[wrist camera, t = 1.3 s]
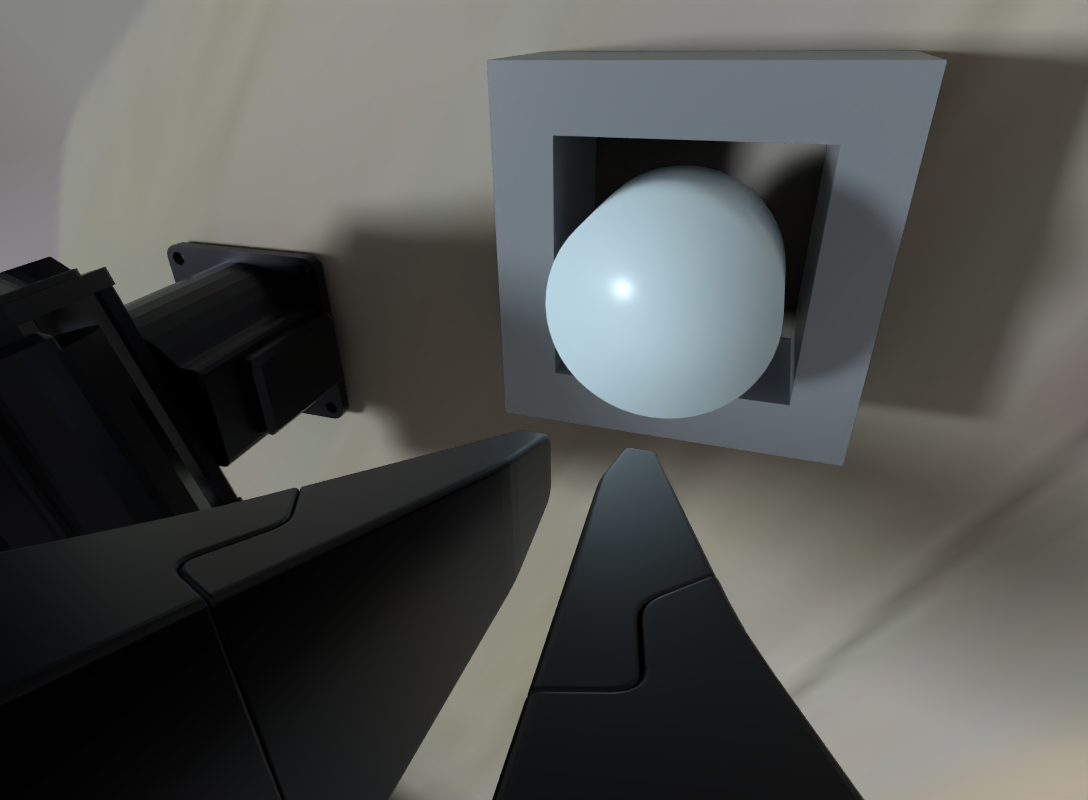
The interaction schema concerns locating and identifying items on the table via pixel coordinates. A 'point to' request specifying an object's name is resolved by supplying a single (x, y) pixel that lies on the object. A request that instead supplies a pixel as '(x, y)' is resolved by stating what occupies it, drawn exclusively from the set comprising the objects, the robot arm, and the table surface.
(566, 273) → the button
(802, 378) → the button box
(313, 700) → the robot arm
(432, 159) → the table surface
